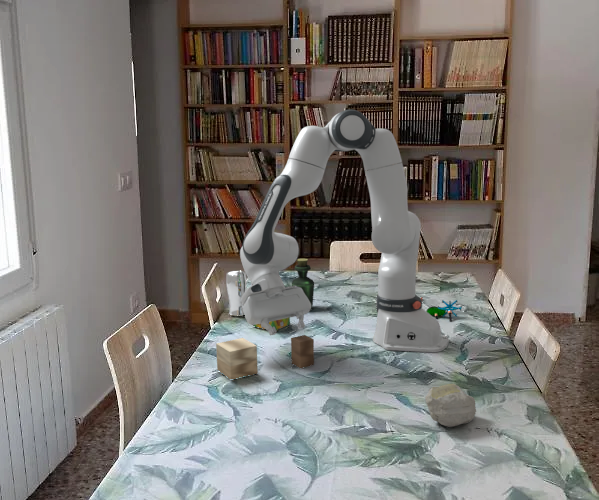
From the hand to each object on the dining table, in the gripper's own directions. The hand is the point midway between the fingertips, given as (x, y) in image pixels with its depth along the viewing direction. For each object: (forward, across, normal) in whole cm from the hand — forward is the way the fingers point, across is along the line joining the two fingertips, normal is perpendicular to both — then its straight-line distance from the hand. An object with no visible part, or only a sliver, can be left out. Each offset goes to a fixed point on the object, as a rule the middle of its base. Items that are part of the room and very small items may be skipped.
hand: (288, 331), depth 188 cm
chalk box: (-14, -11, -26) cm, 32 cm away
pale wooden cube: (+7, +17, -5) cm, 19 cm away
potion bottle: (-22, -31, -34) cm, 51 cm away
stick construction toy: (+5, -62, -7) cm, 63 cm away
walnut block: (+10, -1, -2) cm, 10 cm away
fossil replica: (+45, -8, +33) cm, 56 cm away
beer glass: (-27, -8, -40) cm, 49 cm away
